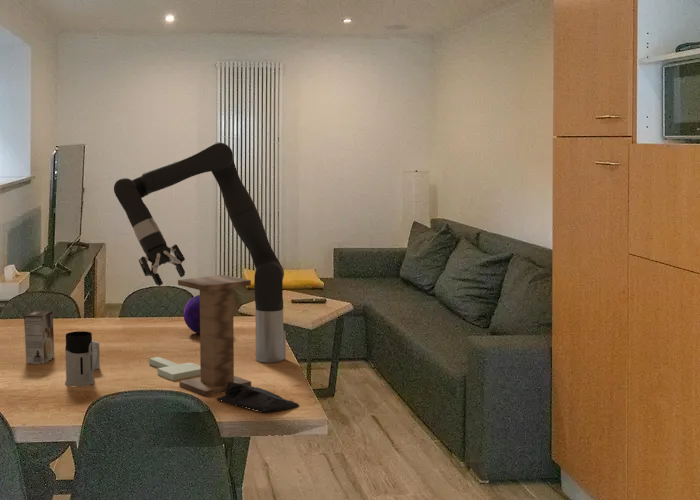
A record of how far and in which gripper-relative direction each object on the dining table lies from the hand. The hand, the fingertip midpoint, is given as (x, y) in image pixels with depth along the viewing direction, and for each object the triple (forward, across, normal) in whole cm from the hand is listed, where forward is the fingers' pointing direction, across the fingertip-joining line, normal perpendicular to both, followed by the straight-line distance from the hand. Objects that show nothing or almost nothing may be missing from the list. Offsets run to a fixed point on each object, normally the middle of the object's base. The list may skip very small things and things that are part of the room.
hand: (172, 280), depth 280 cm
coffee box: (+2, -33, +42) cm, 54 cm away
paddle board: (+25, -9, +9) cm, 29 cm away
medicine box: (+13, -28, +25) cm, 40 cm away
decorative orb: (+17, +29, +47) cm, 57 cm away
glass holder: (+18, -37, +10) cm, 42 cm away
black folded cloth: (+46, -12, -31) cm, 57 cm away
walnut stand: (+36, -10, -12) cm, 40 cm away
